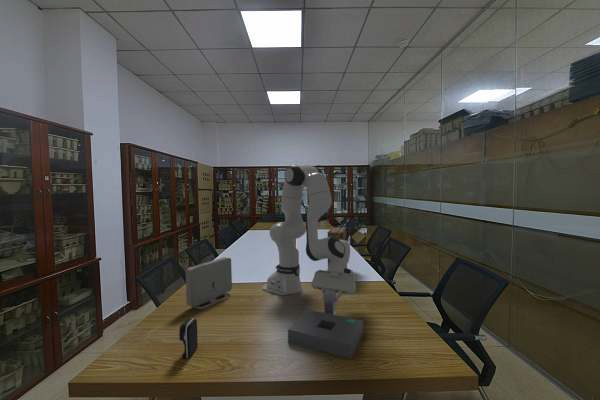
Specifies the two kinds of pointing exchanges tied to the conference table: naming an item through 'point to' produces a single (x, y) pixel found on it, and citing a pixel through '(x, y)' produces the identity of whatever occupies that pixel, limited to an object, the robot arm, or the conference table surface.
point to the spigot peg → (330, 301)
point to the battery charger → (189, 337)
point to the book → (337, 234)
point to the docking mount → (327, 333)
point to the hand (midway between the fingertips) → (329, 300)
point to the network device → (208, 282)
